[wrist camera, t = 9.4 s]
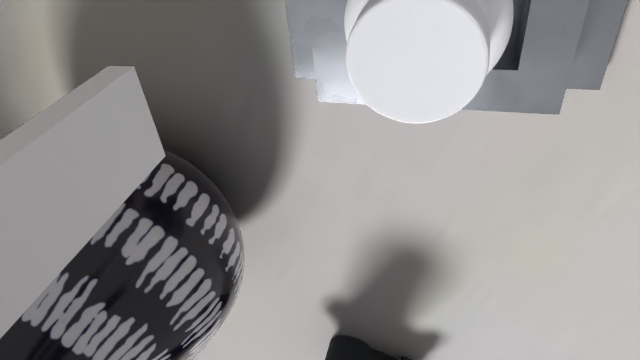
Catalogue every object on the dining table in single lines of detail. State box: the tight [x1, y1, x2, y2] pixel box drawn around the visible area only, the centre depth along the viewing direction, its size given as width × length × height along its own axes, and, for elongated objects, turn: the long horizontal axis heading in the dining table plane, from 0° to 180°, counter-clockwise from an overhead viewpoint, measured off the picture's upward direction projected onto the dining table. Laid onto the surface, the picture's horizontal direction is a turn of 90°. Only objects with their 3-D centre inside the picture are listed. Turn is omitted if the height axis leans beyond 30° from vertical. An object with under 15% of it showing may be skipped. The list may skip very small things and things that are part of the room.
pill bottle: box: [344, 0, 514, 123], centre depth 16 cm, size 5×5×10 cm
